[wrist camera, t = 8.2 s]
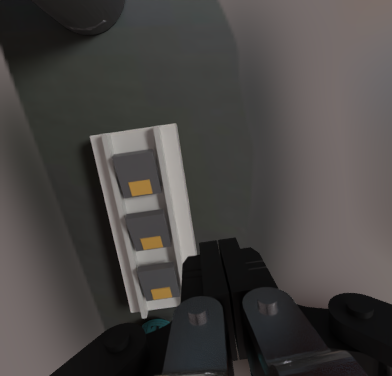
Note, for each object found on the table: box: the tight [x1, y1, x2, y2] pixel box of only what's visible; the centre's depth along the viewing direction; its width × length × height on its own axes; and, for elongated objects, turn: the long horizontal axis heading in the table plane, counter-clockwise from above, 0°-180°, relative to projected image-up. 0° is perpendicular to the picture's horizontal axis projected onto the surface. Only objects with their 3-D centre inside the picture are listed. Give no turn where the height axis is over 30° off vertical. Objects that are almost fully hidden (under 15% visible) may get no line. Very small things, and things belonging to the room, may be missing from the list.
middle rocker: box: [125, 209, 171, 252], centre depth 32 cm, size 5×4×1 cm
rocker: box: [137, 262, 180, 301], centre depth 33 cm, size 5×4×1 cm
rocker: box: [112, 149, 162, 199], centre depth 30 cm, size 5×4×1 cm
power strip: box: [90, 123, 197, 319], centre depth 34 cm, size 24×10×5 cm, turn 8°
